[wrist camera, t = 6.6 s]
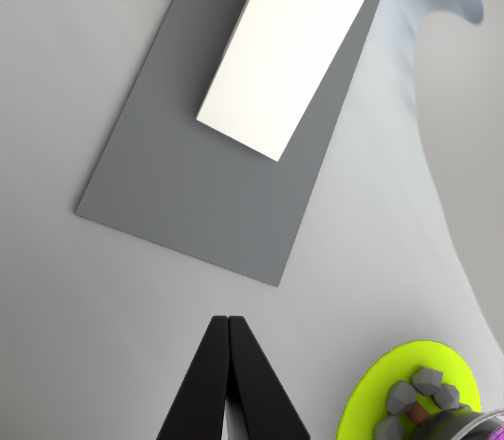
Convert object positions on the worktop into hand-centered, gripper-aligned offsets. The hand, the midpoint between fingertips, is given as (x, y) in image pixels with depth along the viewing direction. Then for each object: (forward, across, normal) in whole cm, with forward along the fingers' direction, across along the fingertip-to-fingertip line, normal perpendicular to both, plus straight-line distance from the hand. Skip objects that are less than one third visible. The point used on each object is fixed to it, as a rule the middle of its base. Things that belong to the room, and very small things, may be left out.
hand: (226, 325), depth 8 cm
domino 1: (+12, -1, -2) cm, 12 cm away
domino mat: (+16, -3, -6) cm, 18 cm away
